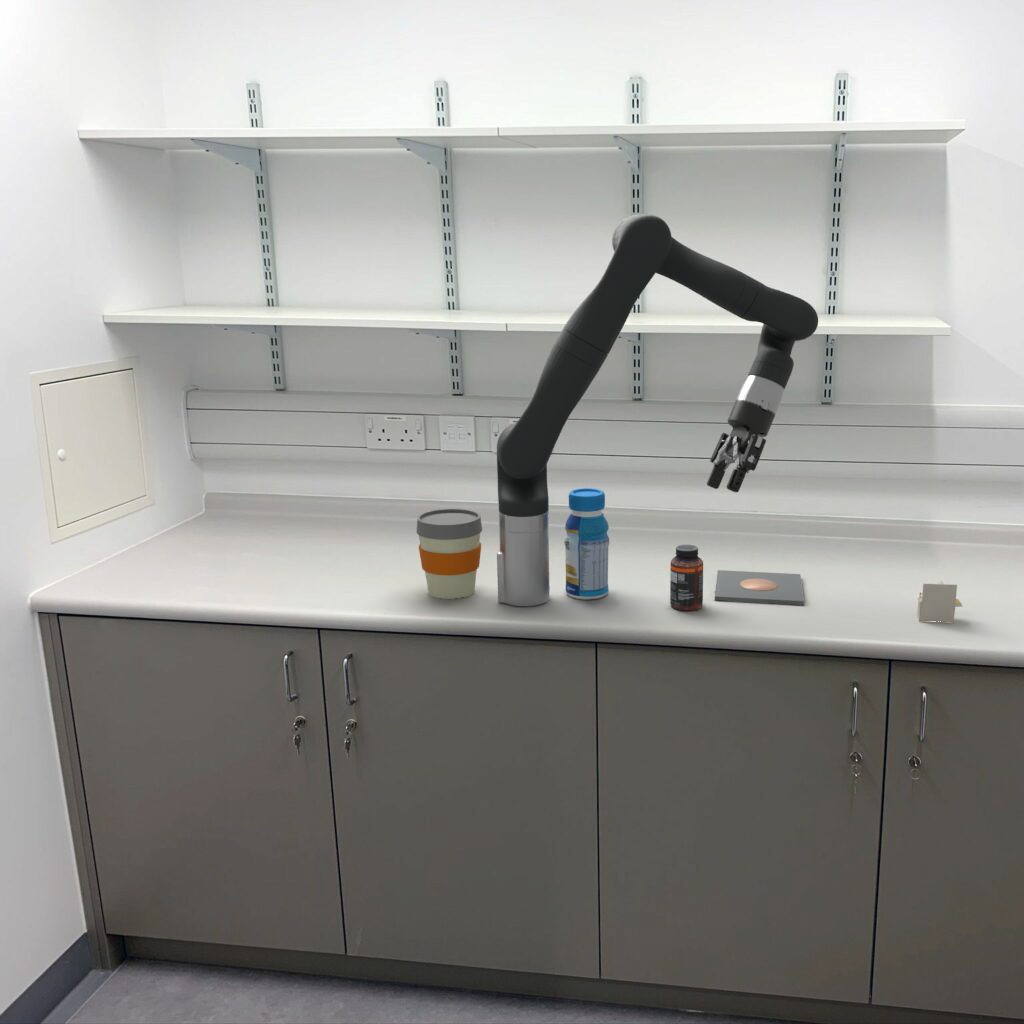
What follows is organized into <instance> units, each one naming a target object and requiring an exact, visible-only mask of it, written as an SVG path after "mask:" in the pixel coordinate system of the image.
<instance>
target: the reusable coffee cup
mask: <svg viewBox="0 0 1024 1024" xmlns="http://www.w3.org/2000/svg"><path fill="white" fill-rule="evenodd" d="M416 519H417V521H416V534H417V535H418V539H419V544H418V552H419V559H420V563H421V564H420V565H421V568H422V569H421V570H423V571H424V574H425V579H426V585H427V591H428V592H427V593H428V595H429V596H431V597H433V598H436V599H440V598H441V599H442V600H456V599H455V598H458V599H462V598H461V597H464V598H467V597H469V595H470V596H471V594H472V595H473V594H474V593H475V592H476V589H475V588H476V581H477V572H478V569H479V567H480V563H481V553H482V543H481V533H482V531H483V527H482V519H481V513H479V512H477V511H474V510H471V509H465V508H441V509H434V510H429V511H425V512H422V513H420V514H419V515H418V516H417V518H416ZM466 596H467V597H466Z"/></svg>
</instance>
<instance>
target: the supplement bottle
mask: <svg viewBox="0 0 1024 1024" xmlns="http://www.w3.org/2000/svg"><path fill="white" fill-rule="evenodd" d="M669 568H670V574H669V575H670V576H669V577H670V581H669V583H670V585H669V588H670V589H669V590H670V591H669V595H670V596H669V601H670V602H669V603H670V606H671V607H672V609H676V610H678V611H679V610H680V611H684V612H686V611H688V612H689V611H696V610H699V609H701V607H702V606H703V604H704V603H703V601H704V561H703V560H702V558H701V557H699V547H698V546H697V545H694V544H680V545H677V546H675V556H674V557H673V558H671V560H670V567H669Z"/></svg>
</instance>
